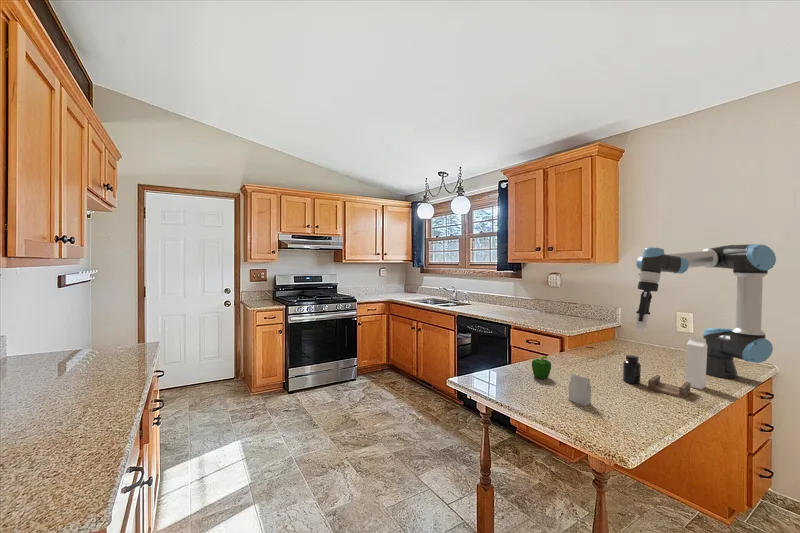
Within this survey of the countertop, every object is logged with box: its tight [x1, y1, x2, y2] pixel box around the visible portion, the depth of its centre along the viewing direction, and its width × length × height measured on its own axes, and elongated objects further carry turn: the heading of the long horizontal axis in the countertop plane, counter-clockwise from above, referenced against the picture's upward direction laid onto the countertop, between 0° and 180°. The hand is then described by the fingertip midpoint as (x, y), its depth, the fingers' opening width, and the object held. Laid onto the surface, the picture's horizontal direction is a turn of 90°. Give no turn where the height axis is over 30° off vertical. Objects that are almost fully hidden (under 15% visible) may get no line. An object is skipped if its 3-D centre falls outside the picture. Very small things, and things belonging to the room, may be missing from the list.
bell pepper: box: [531, 355, 552, 379], centre depth 170 cm, size 8×8×10 cm
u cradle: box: [647, 374, 691, 399], centre depth 158 cm, size 12×12×4 cm
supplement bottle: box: [622, 354, 642, 385], centre depth 167 cm, size 7×7×12 cm
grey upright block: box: [568, 373, 592, 407], centre depth 142 cm, size 4×7×10 cm, turn 36°
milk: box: [684, 336, 707, 390], centre depth 164 cm, size 6×6×22 cm
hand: (640, 328), depth 165 cm, fingers open, 13 cm apart
